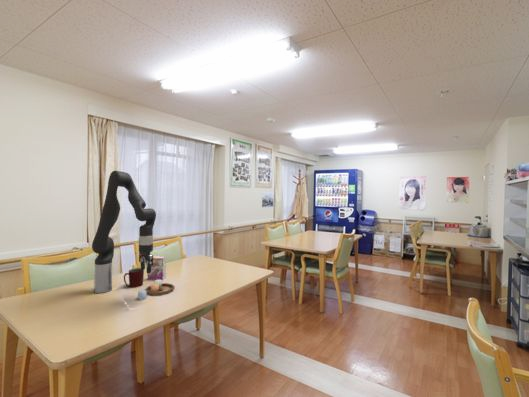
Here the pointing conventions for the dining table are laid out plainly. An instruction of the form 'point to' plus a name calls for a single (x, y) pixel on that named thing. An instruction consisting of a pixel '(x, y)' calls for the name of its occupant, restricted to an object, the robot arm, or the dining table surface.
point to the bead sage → (158, 282)
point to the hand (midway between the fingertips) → (145, 271)
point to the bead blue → (142, 295)
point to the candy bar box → (158, 269)
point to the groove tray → (161, 290)
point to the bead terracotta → (155, 287)
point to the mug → (135, 277)
